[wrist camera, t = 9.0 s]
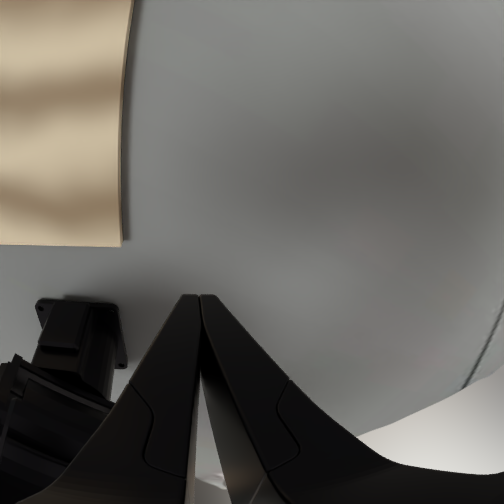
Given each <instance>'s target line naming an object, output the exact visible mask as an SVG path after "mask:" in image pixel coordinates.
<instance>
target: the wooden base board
mask: <svg viewBox="0 0 504 504" xmlns="http://www.w3.org/2000/svg"><path fill="white" fill-rule="evenodd" d="M134 1H135V0H0V244H4V245H50V246H95V247H121V245H122V242H123V232H122V210H121V126H122V106H123V91H124V78H125V67H126V58H127V49H128V41H129V33H130V26H131V19H132V13H133V7H134Z"/></svg>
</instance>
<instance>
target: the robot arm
mask: <svg viewBox="0 0 504 504" xmlns="http://www.w3.org/2000/svg"><path fill="white" fill-rule="evenodd" d="M41 306H42V307H43V308H42V307H41ZM35 309H36V312H37V315H38V318H39V321H40V324H41V327H42V332H41V335H40V337H39V340H38V346H37V348H36V351H35V354H34V356H33V359H32V362H31V363H29V362H27V361H25V360H23V359H22V358H23V357H21V356H19V355H17V354H16V353H15V355H14V357H13V360H12V362H9V361H8V363H1V365H0V504H194V483H195V460H196V439H197V421H198V405H199V390H200V374H201V381H202V386H203V391H204V396H205V400H206V405H207V409H208V414H209V418H210V422H211V427H212V431H213V435H214V439H215V443H216V447H217V451H218V455H219V459H220V463H221V467H222V471H223V474H224V478H225V482H226V485H227V489H228V493H229V496H230V499H231V503H232V504H504V472H501V473H498V474H489V475H476V474H465V473H456V472H448V471H440V470H433V469H425V468H420V467H414V466H408V465H403V464H399V463H396V462H393V461H391V460H389V459H386V458H385V457H382V456H381V455H379V454H378V453H376V452H375V451H373V450H372V449H371V448H369V447H368V446H367V445H365V444H364V443H363V442H361V441H360V440H359V439H358V438H356V437H355V436H354V435H352V434H351V433H350V432H349V431H347V430H346V429H345V428H343V427H342V426H341V425H340V424H338V423H337V422H336V421H335V420H333V419H332V418H331V417H330V416H329V415H327V414H326V413H325V412H324V411H323V410H322V409H320V408H319V407H318V406H317V405H316V404H315V403H314V402H313V401H312V400H311V399H310V398H309V397H308V396H307V395H306V394H305V393H304V392H303V391H302V390H301V389H300V388H299V387H298V386H297V385H296V384H295V383H294V382H293V381H292V380H289V377H288V376H287V375H286V374H285V373H284V371H283V370H282V369H281V368H280V367H279V366H278V365H277V364H276V363H275V362H274V361H273V359H272V358H271V357H270V356H269V355H268V354H267V353H266V352H265V351H264V350H263V348H262V347H261V346H260V345H259V344H258V343H257V342H256V341H255V340H254V338H253V337H252V336H251V335H250V334H249V333H248V332H247V331H246V329H245V328H244V327H243V326H242V325H241V324H240V323H239V321H238V320H237V319H236V318H235V317H234V316H233V315H232V313H231V312H230V311H229V310H228V309H227V308H226V307H225V305H224V304H223V303H222V302H221V301H220V300H219V298H218V297H217V296H216V295H213V294H201V295H200V296H198V295H197V294H183V295H182V296H181V297H180V299H179V300H178V302H177V303H176V305H175V307H174V308H173V310H172V311H171V313H170V315H169V316H168V318H167V319H166V321H165V323H164V324H163V326H162V327H161V329H160V331H159V332H158V334H157V336H156V337H155V339H154V340H153V342H152V344H151V345H150V347H149V349H148V350H147V352H146V354H145V355H144V357H143V359H142V360H141V362H140V364H139V365H138V367H137V369H136V370H135V372H134V374H133V375H132V377H131V379H130V380H129V384H127V385H126V387H125V388H124V390H123V392H122V394H121V395H120V397H119V398H118V400H117V402H116V403H114V402H112V401H110V398H111V390H112V382H113V375H114V369H126V368H127V365H128V360H127V355H126V350H125V344H124V339H123V333H122V327H121V321H120V315H119V309H118V307H117V306H116V305H114V304H107V303H86V302H68V301H53V300H38V301H37V303H36V305H35ZM109 310H112V311H114V312H110V311H109ZM122 363H123V364H122Z"/></svg>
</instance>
